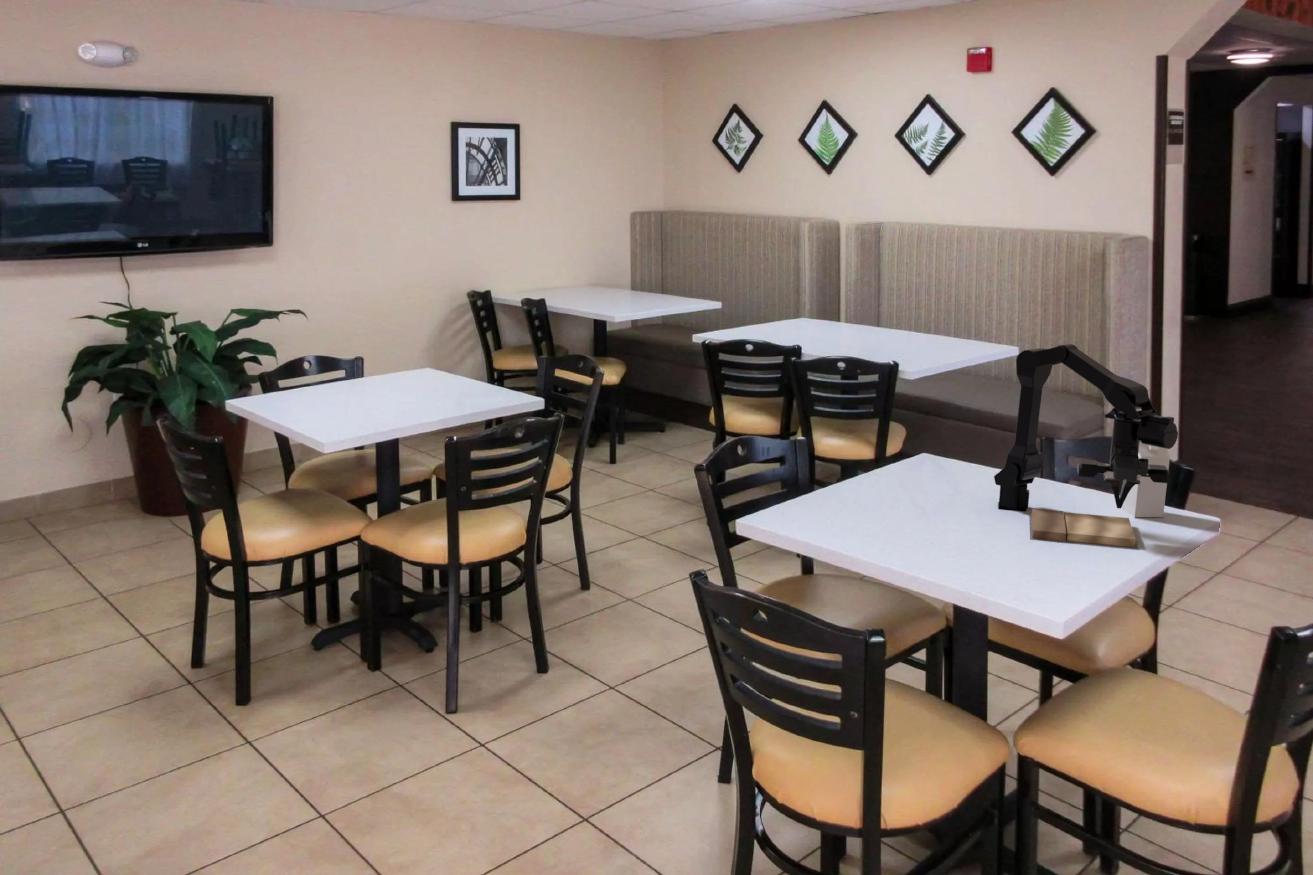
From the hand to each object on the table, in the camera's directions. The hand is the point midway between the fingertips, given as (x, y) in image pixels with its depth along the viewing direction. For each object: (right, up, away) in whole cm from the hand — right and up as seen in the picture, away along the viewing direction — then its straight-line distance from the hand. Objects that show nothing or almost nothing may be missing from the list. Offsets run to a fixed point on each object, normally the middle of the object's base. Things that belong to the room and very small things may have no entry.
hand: (1118, 507), depth 251 cm
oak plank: (-4, -6, +3) cm, 7 cm away
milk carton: (+14, -3, +20) cm, 24 cm away
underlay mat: (-7, -6, +4) cm, 10 cm away
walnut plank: (-14, -5, +6) cm, 16 cm away
